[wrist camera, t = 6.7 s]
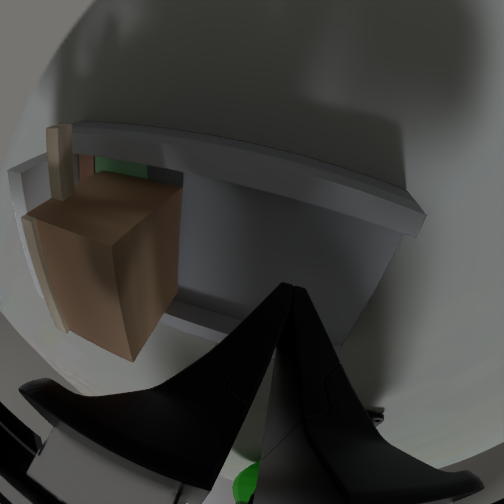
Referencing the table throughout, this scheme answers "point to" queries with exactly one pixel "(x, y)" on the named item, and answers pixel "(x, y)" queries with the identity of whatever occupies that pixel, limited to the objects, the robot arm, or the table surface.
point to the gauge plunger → (104, 250)
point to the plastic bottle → (245, 484)
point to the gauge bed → (246, 222)
